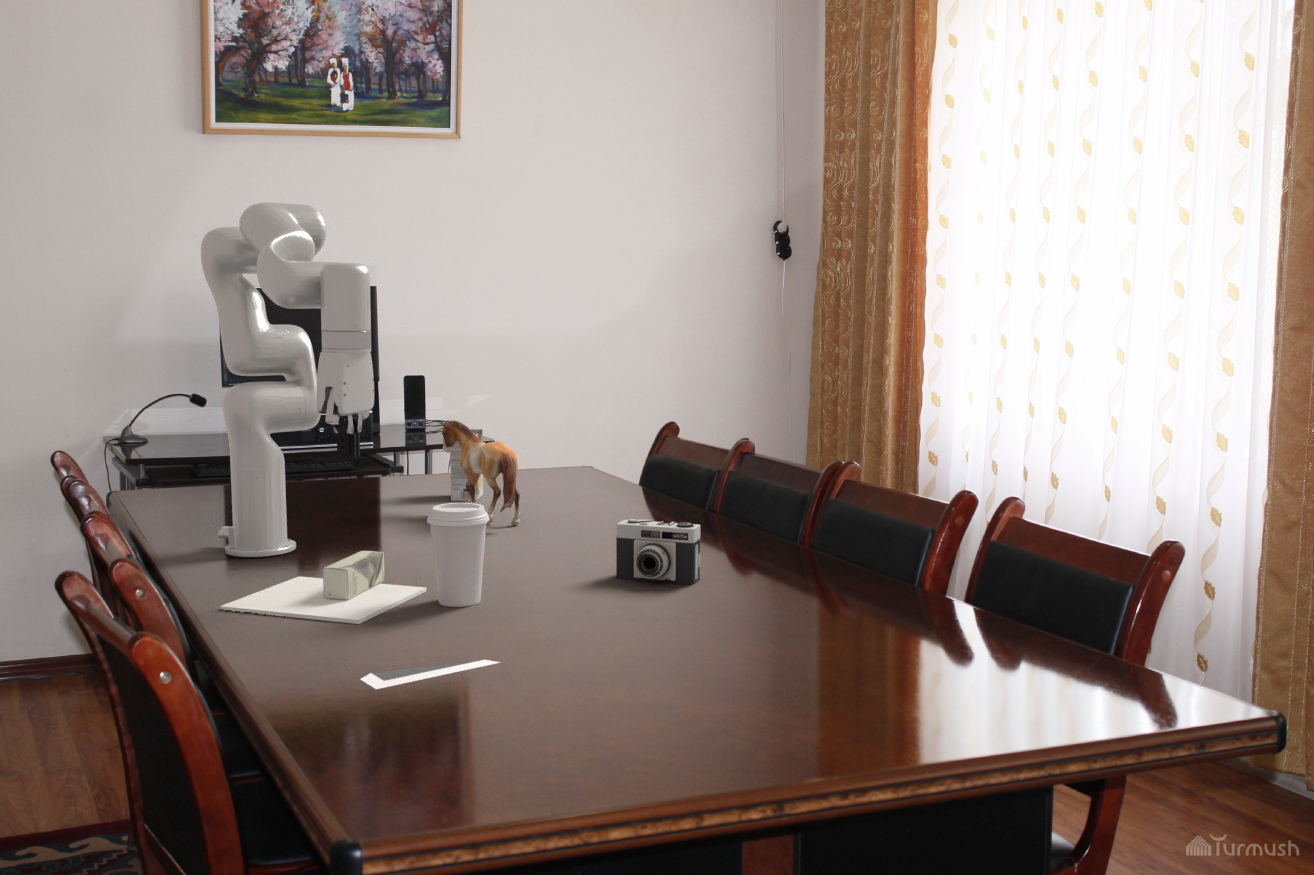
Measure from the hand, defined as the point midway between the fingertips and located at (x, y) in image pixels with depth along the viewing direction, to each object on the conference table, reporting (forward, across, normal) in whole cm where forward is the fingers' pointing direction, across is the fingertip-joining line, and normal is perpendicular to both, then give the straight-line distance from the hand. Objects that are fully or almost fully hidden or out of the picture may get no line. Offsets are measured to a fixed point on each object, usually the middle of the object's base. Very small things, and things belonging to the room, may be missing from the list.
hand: (348, 457), depth 183 cm
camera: (+22, -22, +45) cm, 54 cm away
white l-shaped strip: (+22, +21, +30) cm, 43 cm away
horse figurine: (+23, -60, -7) cm, 64 cm away
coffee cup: (+22, 0, +20) cm, 29 cm away
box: (+19, -5, +1) cm, 19 cm away
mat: (+22, +6, 0) cm, 23 cm away
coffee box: (+23, -86, -22) cm, 91 cm away
